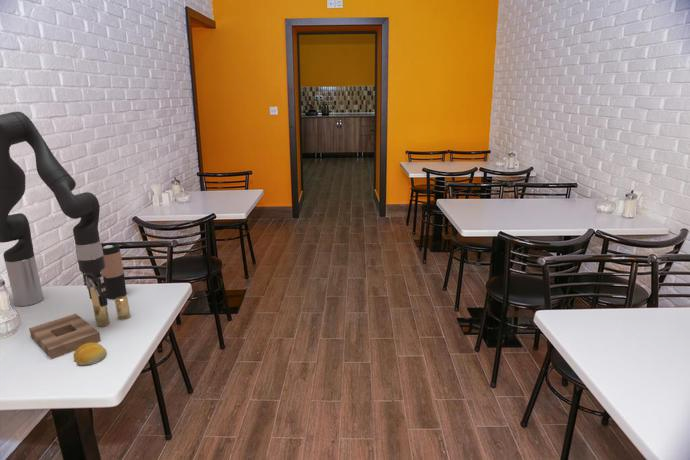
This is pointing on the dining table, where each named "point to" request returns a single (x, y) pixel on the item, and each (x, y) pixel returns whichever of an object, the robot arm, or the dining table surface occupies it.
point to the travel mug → (113, 270)
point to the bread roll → (89, 353)
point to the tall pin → (99, 310)
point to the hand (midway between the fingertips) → (98, 302)
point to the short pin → (122, 307)
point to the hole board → (64, 335)
